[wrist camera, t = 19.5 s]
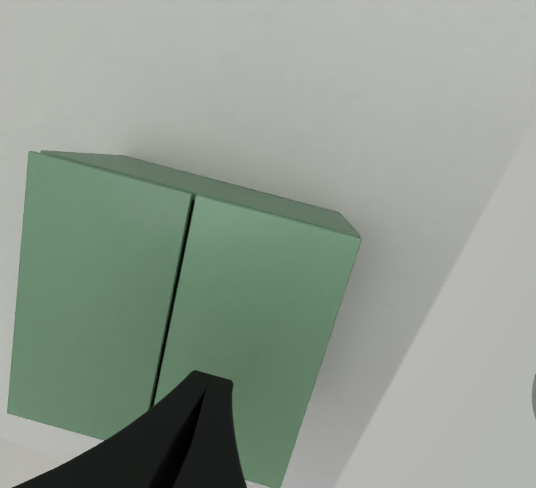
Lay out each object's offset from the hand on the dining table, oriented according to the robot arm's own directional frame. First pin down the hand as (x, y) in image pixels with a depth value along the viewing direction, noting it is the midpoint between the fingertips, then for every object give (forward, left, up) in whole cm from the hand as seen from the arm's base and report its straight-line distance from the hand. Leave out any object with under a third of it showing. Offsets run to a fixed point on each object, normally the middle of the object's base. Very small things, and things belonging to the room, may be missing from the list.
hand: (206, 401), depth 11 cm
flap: (-1, 0, -3) cm, 3 cm away
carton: (+2, +2, -10) cm, 10 cm away
